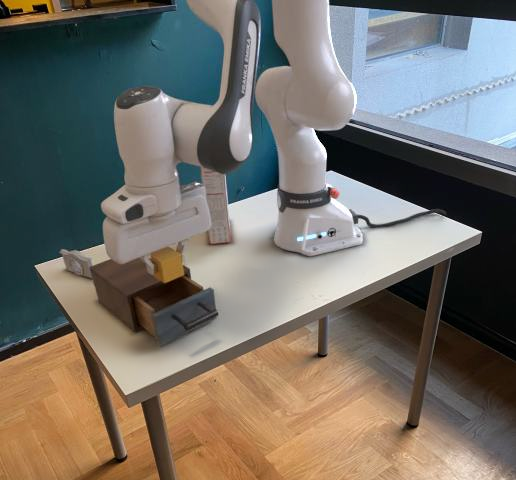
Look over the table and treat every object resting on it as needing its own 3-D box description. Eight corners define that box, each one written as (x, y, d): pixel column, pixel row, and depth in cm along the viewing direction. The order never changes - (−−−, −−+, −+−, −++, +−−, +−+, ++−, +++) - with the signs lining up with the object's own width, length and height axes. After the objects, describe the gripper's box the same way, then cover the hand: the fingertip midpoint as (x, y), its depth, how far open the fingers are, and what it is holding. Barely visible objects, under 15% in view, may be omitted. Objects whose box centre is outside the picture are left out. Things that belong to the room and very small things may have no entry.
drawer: (233, 329, 100) (231, 300, 96) (177, 360, 93) (171, 330, 89) (176, 291, 112) (172, 263, 108) (122, 315, 105) (115, 287, 101)
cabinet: (194, 303, 109) (189, 268, 104) (135, 332, 102) (126, 295, 97) (155, 277, 119) (149, 243, 114) (98, 301, 112) (89, 267, 106)
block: (171, 266, 99) (168, 246, 96) (184, 275, 96) (181, 253, 93) (151, 275, 96) (147, 254, 94) (164, 283, 94) (160, 262, 91)
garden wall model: (105, 279, 119) (100, 256, 115) (100, 283, 118) (94, 260, 114) (70, 267, 124) (63, 245, 121) (64, 270, 123) (57, 248, 120)
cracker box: (207, 222, 142) (199, 144, 129) (229, 220, 142) (223, 143, 129) (207, 245, 131) (198, 162, 118) (231, 243, 131) (224, 161, 118)
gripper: (193, 174, 94) (201, 243, 102) (91, 206, 83) (109, 280, 92) (214, 183, 90) (220, 253, 98) (110, 218, 80) (127, 293, 88)
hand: (166, 267), depth 95 cm, fingers closed on block, 4 cm apart
